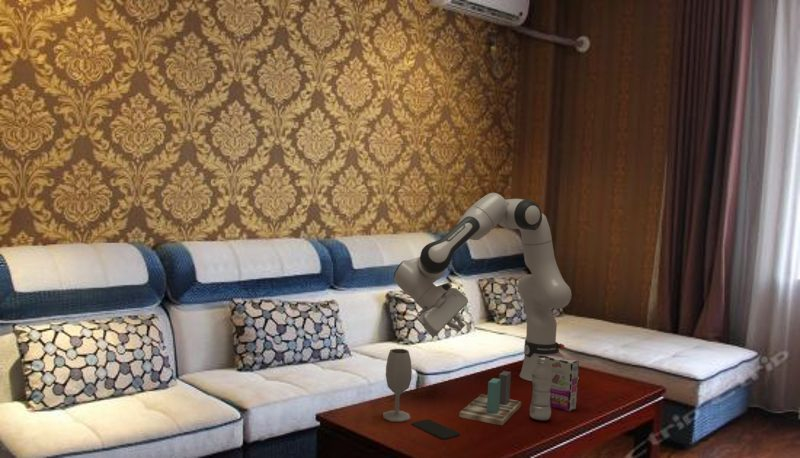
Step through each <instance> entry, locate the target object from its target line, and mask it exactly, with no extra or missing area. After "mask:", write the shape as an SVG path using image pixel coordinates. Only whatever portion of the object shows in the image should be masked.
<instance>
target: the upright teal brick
mask: <svg viewBox="0 0 800 458" xmlns="http://www.w3.org/2000/svg"><path fill="white" fill-rule="evenodd" d="M500 386H501V379H499V378H496V377H495V378H494V377H493V378H491V379H490V380H489V381H487V395H488V397H487V412H488V413H493V414H496V413H497V412H498V411H499V403H500Z"/></svg>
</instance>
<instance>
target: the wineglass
mask: <svg viewBox="0 0 800 458" xmlns="http://www.w3.org/2000/svg"><path fill="white" fill-rule="evenodd" d="M412 374H413V370H412V359H411V356H410V351H409V349H405V348H391V349H390V350H389V352H388V355H387V359H386V364H385V379H386V384H387V385H386V386H387V388H388V389H389V390H390V391H391V392H392V393H393V394H394V395H395V400H394V410H388V411H385V412H382V417H383V419H384V420H385V421H389V422H391V423H394V422H395V423H404V422H406V421H409V420H411V415H410V413H408V412H405V411H403V410H400V398H401V397H400V395H401V394H403V393H404V392H405V391H406V390H408V389H409V388H410V385H411V381H412V376H413V375H412Z"/></svg>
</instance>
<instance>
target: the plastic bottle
mask: <svg viewBox="0 0 800 458" xmlns="http://www.w3.org/2000/svg"><path fill="white" fill-rule="evenodd" d="M549 359H550V358H549V357H548V356H538V357H537V363H538V364H537V365H536V366H535V367H534V368H533V370H532V381H531V383H532V393H531V394H532V395H531V400H530V401H531V403H530V404H529V405H530V406H529V416H530V417H531V419H533V420H537V421H541V422H542V421H543V422H544V421H548V420H550V418H551V415H552V407H551V406H550V390H551V383H552V378H553V373H552V370H551V368H550V367H549V365H548V364H549V363H550V362H549Z"/></svg>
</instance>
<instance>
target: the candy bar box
mask: <svg viewBox="0 0 800 458" xmlns="http://www.w3.org/2000/svg"><path fill="white" fill-rule="evenodd" d="M547 356H548V357H549V358H550V359H549V362H550V363H549V364H548V365H549V367H550V368H551V370H552V373H553V378H552V383H551V390H550V406H551V408H554V409H559V410H562V411H565V412H567V413H568V412H572V411H574V410H576V409H577V401H578V400H577V399H578V398H577V397H578V382H579V381H578V377H579V366H580V360H577V359H572V358H567V357H566V358H564V357H559V356H555V355H547Z"/></svg>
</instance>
